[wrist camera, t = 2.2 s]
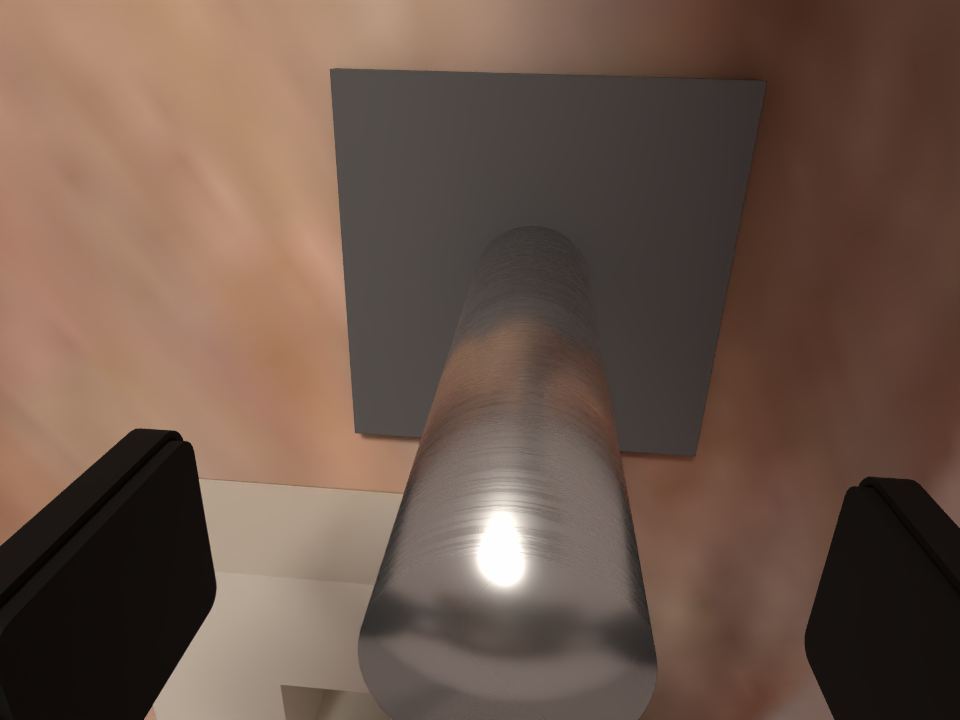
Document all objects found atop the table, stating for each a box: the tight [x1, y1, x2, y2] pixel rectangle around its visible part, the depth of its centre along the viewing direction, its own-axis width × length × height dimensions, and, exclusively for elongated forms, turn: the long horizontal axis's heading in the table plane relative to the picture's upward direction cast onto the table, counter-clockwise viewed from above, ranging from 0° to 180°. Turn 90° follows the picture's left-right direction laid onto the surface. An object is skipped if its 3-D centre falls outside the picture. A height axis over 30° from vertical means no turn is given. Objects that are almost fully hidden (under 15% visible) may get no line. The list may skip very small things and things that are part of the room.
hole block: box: [153, 479, 403, 720], centre depth 23 cm, size 13×13×4 cm
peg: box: [358, 226, 657, 720], centre depth 12 cm, size 3×3×12 cm
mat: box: [330, 68, 767, 456], centre depth 18 cm, size 10×10×1 cm
